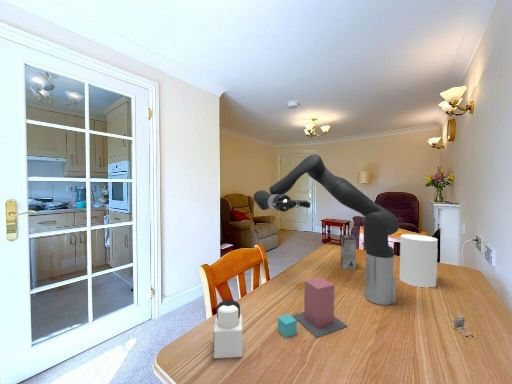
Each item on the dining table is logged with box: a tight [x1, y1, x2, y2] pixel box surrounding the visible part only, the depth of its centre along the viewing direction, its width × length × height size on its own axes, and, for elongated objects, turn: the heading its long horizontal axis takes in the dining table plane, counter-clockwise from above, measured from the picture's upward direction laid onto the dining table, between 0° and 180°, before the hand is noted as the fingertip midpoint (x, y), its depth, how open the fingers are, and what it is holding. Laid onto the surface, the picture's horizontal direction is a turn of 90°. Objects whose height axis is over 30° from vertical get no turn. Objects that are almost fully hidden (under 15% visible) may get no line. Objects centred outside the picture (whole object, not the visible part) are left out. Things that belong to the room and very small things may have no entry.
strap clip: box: [453, 315, 469, 334], centre depth 70 cm, size 8×3×4 cm, turn 5°
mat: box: [291, 311, 348, 339], centre depth 74 cm, size 12×12×1 cm
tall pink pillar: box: [303, 277, 335, 328], centre depth 73 cm, size 6×6×12 cm
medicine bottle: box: [213, 299, 243, 359], centre depth 61 cm, size 7×7×12 cm
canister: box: [399, 233, 439, 289], centre depth 104 cm, size 14×14×20 cm
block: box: [277, 313, 298, 339], centre depth 68 cm, size 4×4×4 cm
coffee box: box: [340, 234, 357, 271], centre depth 123 cm, size 9×6×16 cm
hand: (301, 205), depth 92 cm, fingers open, 8 cm apart
